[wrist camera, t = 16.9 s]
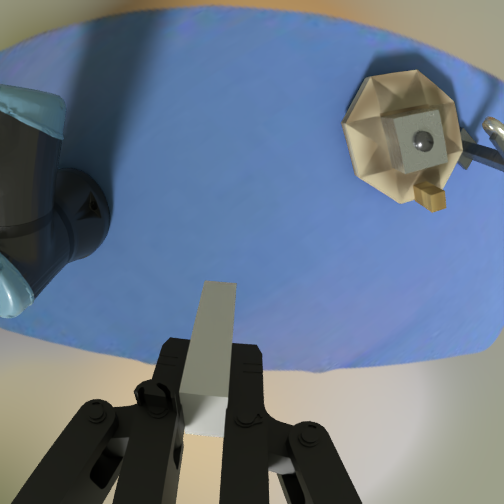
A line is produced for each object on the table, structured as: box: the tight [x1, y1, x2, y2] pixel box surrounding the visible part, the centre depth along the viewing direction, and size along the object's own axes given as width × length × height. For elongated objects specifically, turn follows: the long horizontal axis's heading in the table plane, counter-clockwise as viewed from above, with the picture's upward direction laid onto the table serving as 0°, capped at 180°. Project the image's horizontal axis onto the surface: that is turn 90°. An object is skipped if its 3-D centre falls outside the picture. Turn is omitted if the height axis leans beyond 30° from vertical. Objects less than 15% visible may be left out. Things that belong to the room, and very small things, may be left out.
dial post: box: [457, 116, 504, 172], centre depth 31 cm, size 10×5×15 cm, turn 60°
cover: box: [380, 108, 448, 174], centre depth 32 cm, size 7×7×5 cm
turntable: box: [341, 70, 463, 213], centre depth 33 cm, size 18×18×7 cm
